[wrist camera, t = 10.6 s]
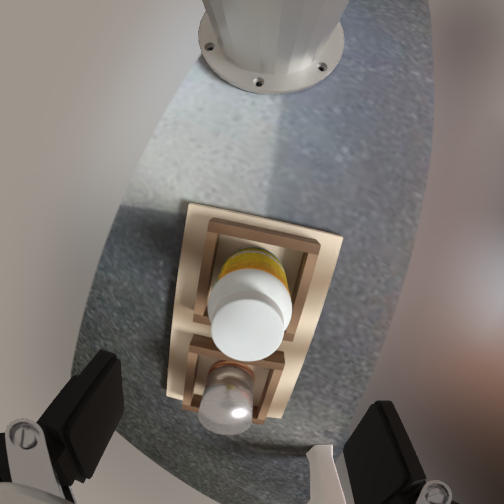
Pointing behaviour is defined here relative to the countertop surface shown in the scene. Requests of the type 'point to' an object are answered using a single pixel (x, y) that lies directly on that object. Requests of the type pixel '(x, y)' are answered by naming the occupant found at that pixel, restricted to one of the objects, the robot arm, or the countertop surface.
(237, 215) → the socket board
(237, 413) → the silver cylinder
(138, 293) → the countertop surface
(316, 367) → the countertop surface
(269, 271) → the supplement bottle
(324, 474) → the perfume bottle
